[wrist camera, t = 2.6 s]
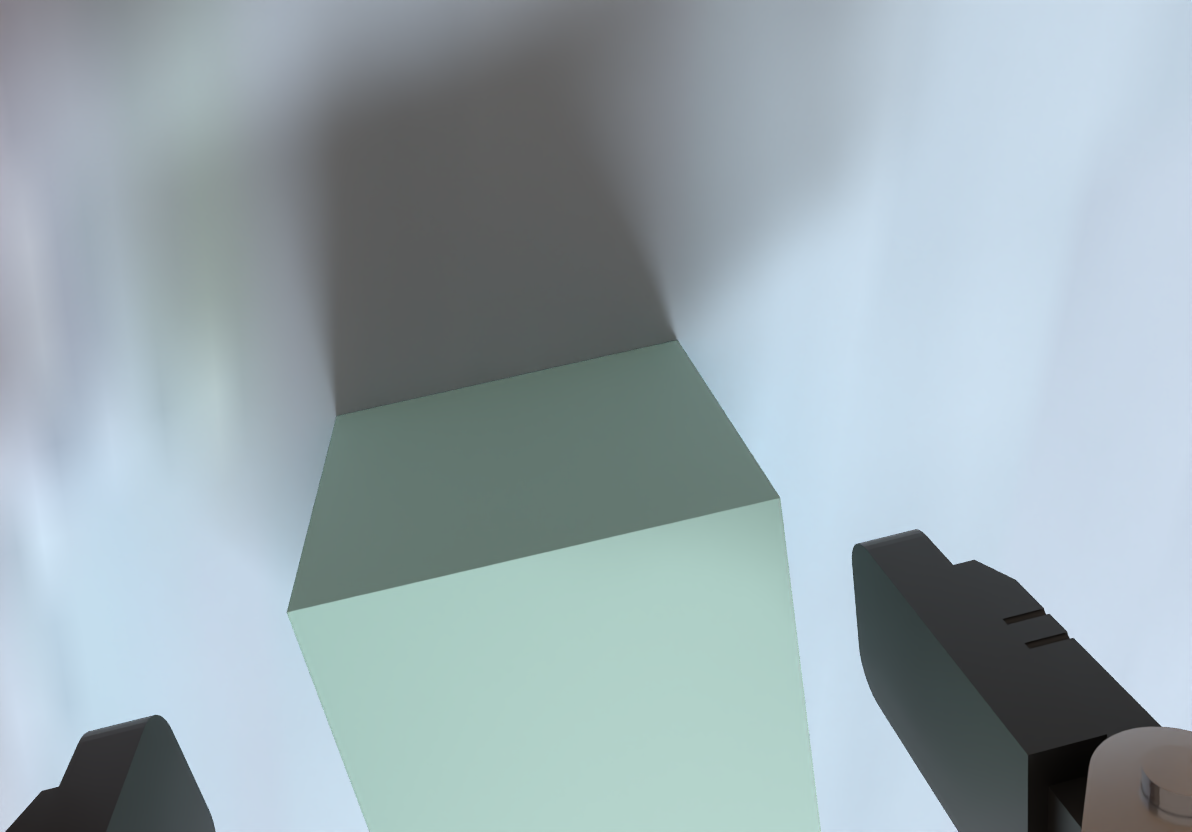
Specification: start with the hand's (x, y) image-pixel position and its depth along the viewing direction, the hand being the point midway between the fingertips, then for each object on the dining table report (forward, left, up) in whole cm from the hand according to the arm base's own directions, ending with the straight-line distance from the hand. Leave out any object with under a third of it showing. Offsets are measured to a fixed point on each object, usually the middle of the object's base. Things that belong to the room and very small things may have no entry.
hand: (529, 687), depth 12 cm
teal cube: (-1, 0, -4) cm, 4 cm away
